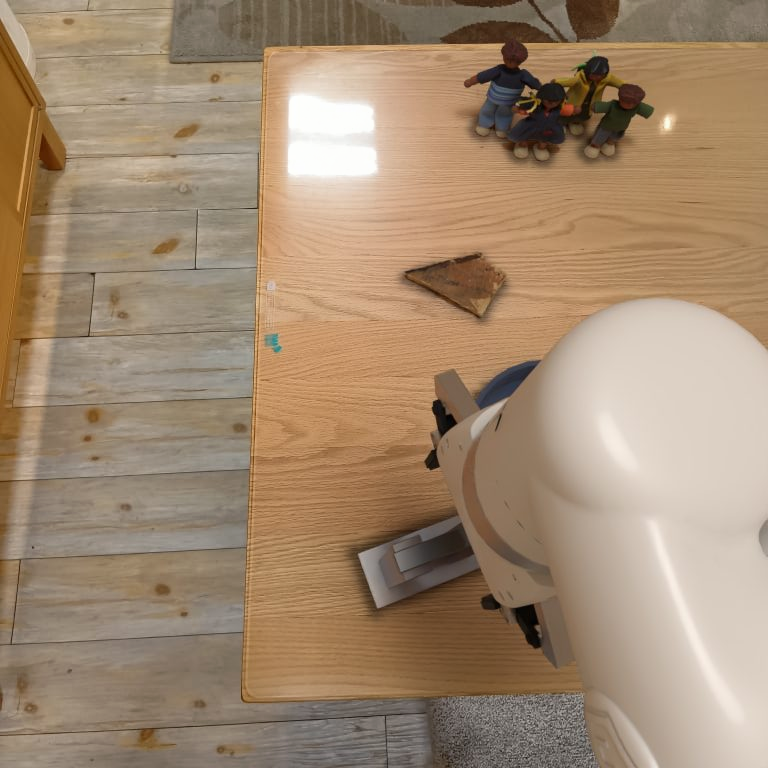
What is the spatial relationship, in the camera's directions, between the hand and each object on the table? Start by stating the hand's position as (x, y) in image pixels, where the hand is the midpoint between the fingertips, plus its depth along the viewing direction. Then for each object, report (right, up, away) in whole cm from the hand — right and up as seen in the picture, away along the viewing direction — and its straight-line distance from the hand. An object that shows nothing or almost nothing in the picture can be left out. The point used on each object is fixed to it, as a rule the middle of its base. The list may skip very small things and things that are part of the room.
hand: (473, 525), depth 46 cm
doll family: (+15, +43, +46) cm, 65 cm away
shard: (+3, +21, +38) cm, 43 cm away
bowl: (+12, +1, +32) cm, 34 cm away
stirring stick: (0, -3, +9) cm, 9 cm away
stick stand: (-2, -9, +28) cm, 29 cm away
